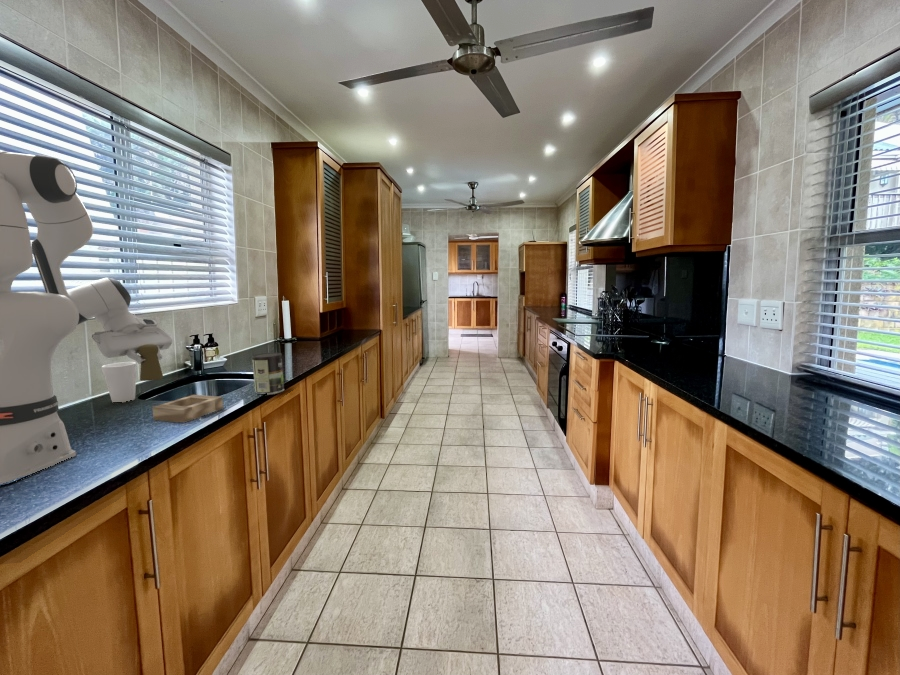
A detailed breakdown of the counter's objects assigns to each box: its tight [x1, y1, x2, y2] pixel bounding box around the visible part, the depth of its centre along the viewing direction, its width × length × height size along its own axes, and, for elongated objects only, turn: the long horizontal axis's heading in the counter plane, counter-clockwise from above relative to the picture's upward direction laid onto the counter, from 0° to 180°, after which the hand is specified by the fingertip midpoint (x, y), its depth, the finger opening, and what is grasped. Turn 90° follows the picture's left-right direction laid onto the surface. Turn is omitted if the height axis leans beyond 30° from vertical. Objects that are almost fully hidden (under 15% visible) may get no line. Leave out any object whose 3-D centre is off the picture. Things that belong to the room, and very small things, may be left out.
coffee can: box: [251, 352, 285, 396], centre depth 152 cm, size 10×10×14 cm
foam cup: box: [100, 361, 138, 403], centre depth 144 cm, size 10×9×13 cm
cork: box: [138, 344, 164, 382], centre depth 129 cm, size 6×6×11 cm
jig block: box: [151, 394, 224, 423], centre depth 127 cm, size 14×12×4 cm
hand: (151, 360), depth 129 cm, fingers closed on cork, 4 cm apart
